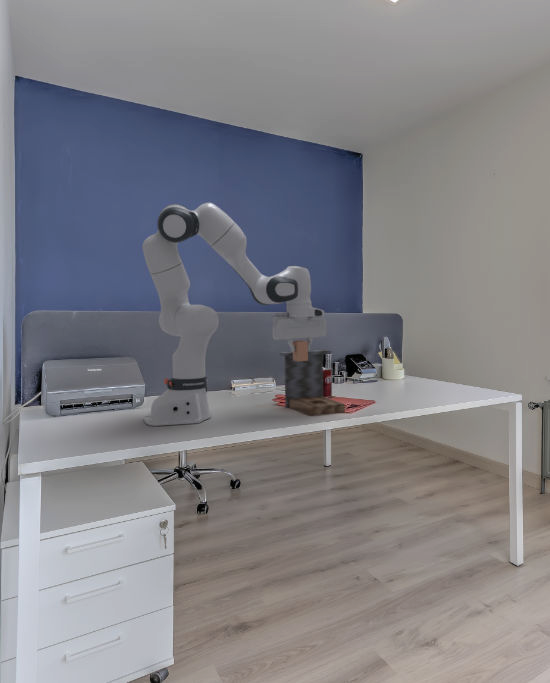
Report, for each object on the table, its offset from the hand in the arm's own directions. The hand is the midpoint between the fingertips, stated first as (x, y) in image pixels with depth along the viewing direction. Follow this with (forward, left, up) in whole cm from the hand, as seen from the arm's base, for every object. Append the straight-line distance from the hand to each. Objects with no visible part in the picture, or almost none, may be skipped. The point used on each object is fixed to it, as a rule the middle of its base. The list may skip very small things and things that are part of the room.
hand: (300, 351), depth 165 cm
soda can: (+22, +23, -22) cm, 39 cm away
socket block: (+7, +3, -22) cm, 24 cm away
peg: (0, 0, -3) cm, 3 cm away
